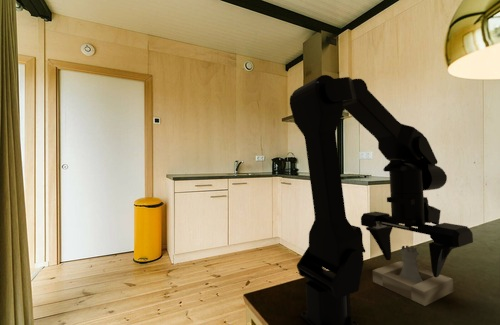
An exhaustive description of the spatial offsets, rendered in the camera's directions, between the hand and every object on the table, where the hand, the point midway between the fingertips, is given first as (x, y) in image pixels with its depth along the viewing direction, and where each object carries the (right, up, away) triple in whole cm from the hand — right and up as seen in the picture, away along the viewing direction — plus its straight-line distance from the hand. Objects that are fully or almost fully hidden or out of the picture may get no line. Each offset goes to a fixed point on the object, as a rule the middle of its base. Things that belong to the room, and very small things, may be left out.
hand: (410, 267), depth 47 cm
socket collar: (0, -4, 0) cm, 4 cm away
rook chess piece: (0, -4, 0) cm, 4 cm away
